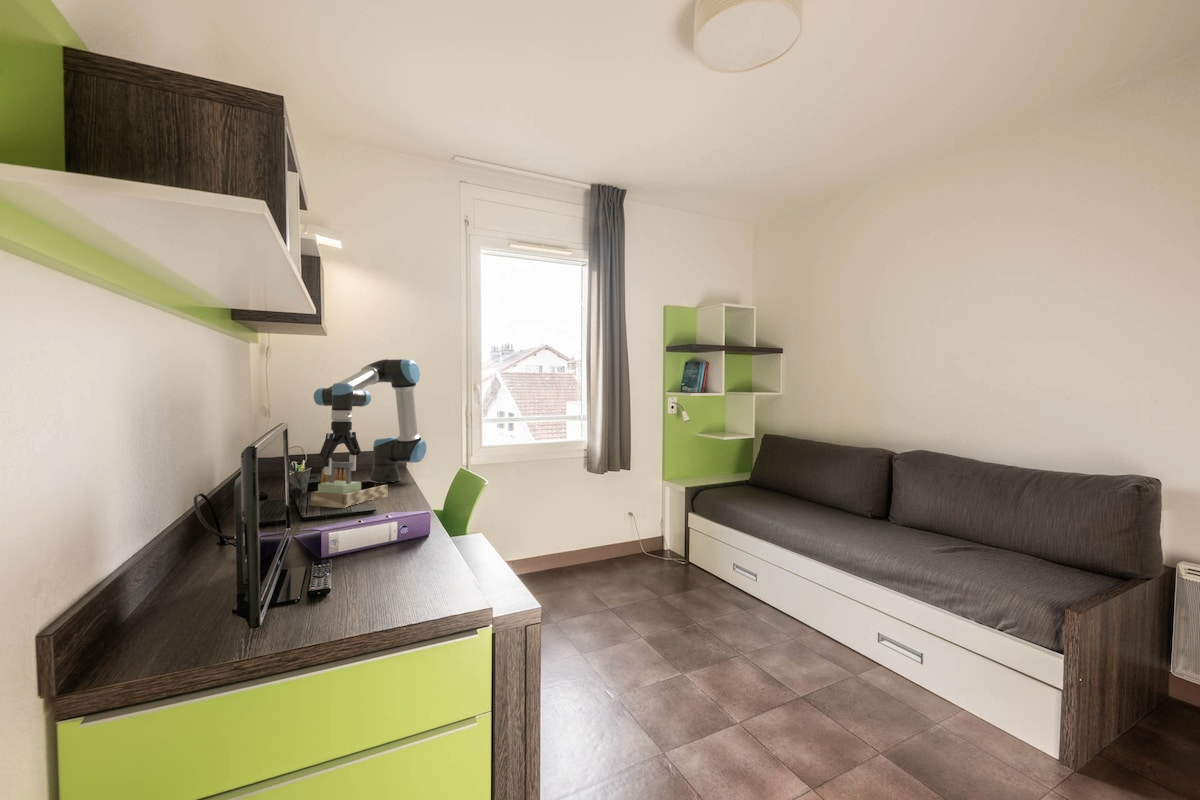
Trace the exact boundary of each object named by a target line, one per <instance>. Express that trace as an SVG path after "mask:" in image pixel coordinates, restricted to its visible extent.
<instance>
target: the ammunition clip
mask: <svg viewBox="0 0 1200 800" xmlns="http://www.w3.org/2000/svg"><path fill="white" fill-rule="evenodd" d="M338 471H339V472H338ZM336 480H338V481H346V468H343V471H342V468H340V467H339V470H338V467H335V472H334V481H336ZM326 482H330V475H324V467H323V468H322V469H321V477H320V484H321V483H326Z"/></svg>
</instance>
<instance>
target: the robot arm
mask: <svg viewBox="0 0 1200 800" xmlns="http://www.w3.org/2000/svg"><path fill="white" fill-rule="evenodd" d="M420 376H421V371H420V368H419V366H418V364H417V363H416V361H414V360H412V359H406V358H405V359H400V358H399V359H387V358H386V359H381V360H377V361H375V362H371V363H369V364H367V365H365V366H364V367H362V368H361V369H360V371H358V372H356V373H355V374H353V375H351V376H349V377H347V378H345V379H343V380H341V381H339V382H335V383H333V385H331V386H329V387H327V388H325V387H322V388H321V387H320V388H317V389H316V390H315V391H314V392H313V401H314V402H315V405H317V406H324V407H331V414H330V416H331V417H330V419H331V423H330V424H331V425H330V426H331V427H330V430H331V431H332V433H331V432H330V433H326V434H325V440H324V442H323V445H322V447H321V449H320V452H319V455H318V458H321V459H323V461H322V462H323V464H322V465H323V468H324V475H325V476H326V475H329V476H330V475H331V463H332V456H333V453H334V452H335V450H336V448H337V447H338V446H339V445H342V444H344V445H345V447H346V448H347V450H348V452H349V453H350V454H349V455H348V456H349V458H348V459H349V461H348V462H352V463H353V467H352V468H351V472H355V471H356V470H357V460H358V459H357V456H359V455H360V454H361V452H362V450H361V447H360V445H359V442H358V439H357V433H356V431H351V430H352V429H353V427H352V426H353V422H352V421H351V420H352V419H353V407H357V408H358V407H366V406H368V405H369V404H370V402H372V401H371V400H372V396H371V394H370V391H368V390H366V389H364V388H366V387H368V386H371V385H375V384H377V383H391V388H392V389H393V390H395V391H394V392H395V402H396V410H397V419H398V420H397V421H398V427H399V428H398V430H399V435H398V436H393V437H384V438H383V437H382V438H377V439H375V440H374V441H373V446H372V447H373V452H372V453H373V457H372V458H373V460H372V461H373V462H372V463H373V465H372V469H371V472H370V474H369V475H370V476H369V478H368V480H369V479H370V480H373V481H376V482H379V483H378V484H381V483H380V482H392V481H397V480H400V481H401V475H400V472H399V468H398V463H411V464H413V463H420V462H421V461H423V459H424V458H425V455H426V452H427V443H426V441H425V440H422V437H421V434H419V433H418V424H417V416H416V404H415V392H414V388H415V387H416V386H417V383H418V382H419V381H420V378H421V377H420Z"/></svg>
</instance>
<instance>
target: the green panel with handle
mask: <svg viewBox="0 0 1200 800" xmlns="http://www.w3.org/2000/svg"><path fill="white" fill-rule="evenodd" d="M352 467H353V463H352V462H349V461H347V462H346V461H335V460H334V461H332V463H331V475H329V482H326V483H321V482H320V483H318V484H317V491H318V492H320V493H334V494H348V493H352V492H356V491H361V490H362V481H354V480H353V481H352V471H351V468H352ZM336 468H339V469H340V468H341V469H342V468H343V469H344V468H345V469H346V481H338V480H336V481H334V475H335V469H336Z"/></svg>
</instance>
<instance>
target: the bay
mask: <svg viewBox="0 0 1200 800" xmlns="http://www.w3.org/2000/svg"><path fill="white" fill-rule="evenodd" d="M388 492H389V484H382V485H378V486H374V487H371V488H366V489H361V491H356V492H352V493H348V494H334V493H320V492H318V490H317V491H312V492H310V506H313V507H325V508H326V507H327V508H336V509H337V508H338V509H346V507H347V508H349V507H348V506H351V505H355V504H358V505H360V504H359V503H361V502H364V501H368V500H372V501H373V502H374V501H377V500H380V499H383V498H387V497H388V495H389V494H388ZM372 501H371V502H372ZM355 506H356V505H355ZM351 507H352V506H351Z"/></svg>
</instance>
